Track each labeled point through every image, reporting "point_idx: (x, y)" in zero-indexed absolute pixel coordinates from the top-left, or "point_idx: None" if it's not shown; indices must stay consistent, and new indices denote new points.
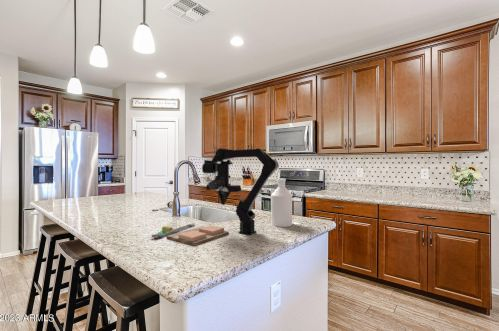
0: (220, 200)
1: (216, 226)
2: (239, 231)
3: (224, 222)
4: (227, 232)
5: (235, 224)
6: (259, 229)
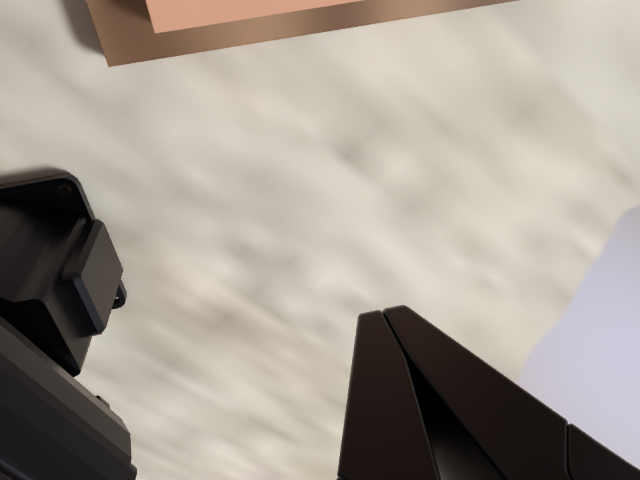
0: (498, 371)
1: (314, 7)
2: (78, 197)
3: (531, 319)
4: (101, 37)
5: None
6: None
